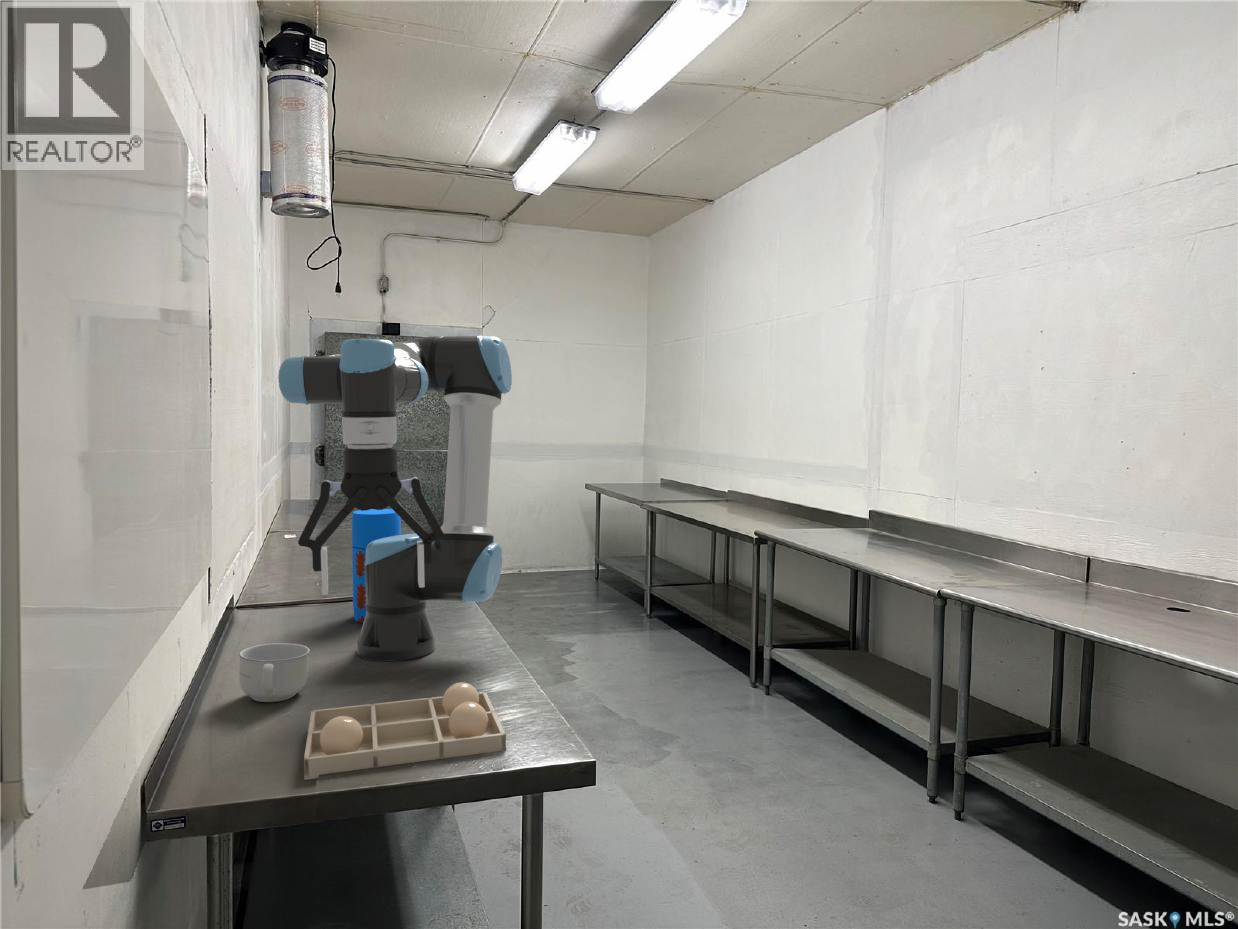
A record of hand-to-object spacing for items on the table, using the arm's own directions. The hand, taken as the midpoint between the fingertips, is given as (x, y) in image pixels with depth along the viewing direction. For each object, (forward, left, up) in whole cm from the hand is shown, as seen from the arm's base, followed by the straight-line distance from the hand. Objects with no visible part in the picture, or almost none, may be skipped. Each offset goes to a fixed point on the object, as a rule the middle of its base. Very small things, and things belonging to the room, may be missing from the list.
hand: (374, 589), depth 115 cm
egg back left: (0, +13, -21) cm, 25 cm away
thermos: (-69, +2, -22) cm, 72 cm away
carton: (+5, +4, -22) cm, 22 cm away
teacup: (-19, -16, -22) cm, 33 cm away
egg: (+9, -5, -21) cm, 23 cm away
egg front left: (+9, +13, -21) cm, 26 cm away
